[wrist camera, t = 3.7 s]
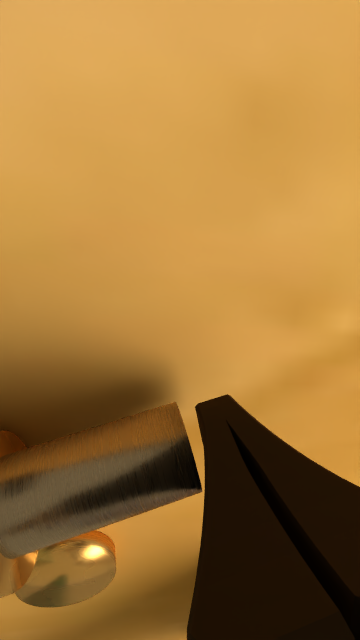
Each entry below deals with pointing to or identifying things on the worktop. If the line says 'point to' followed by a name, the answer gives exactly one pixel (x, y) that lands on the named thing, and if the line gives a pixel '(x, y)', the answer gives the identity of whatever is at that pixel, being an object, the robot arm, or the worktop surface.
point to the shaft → (88, 483)
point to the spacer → (70, 571)
